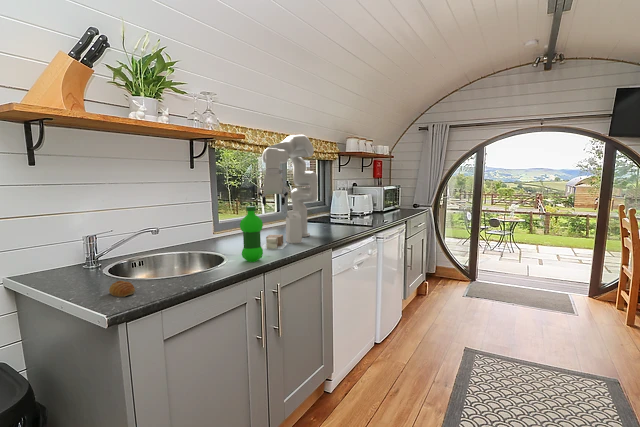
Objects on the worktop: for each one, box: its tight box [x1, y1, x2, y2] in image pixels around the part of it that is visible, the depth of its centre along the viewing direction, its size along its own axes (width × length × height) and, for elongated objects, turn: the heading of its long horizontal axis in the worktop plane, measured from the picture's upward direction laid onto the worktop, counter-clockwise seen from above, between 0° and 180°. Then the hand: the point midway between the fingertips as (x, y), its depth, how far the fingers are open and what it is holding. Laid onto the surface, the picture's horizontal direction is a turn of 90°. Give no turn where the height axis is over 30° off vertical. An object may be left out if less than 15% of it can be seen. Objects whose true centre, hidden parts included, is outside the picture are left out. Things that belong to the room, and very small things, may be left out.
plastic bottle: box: [239, 205, 264, 263], centre depth 156 cm, size 10×10×25 cm
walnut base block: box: [265, 234, 284, 246], centre depth 190 cm, size 8×8×5 cm
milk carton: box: [285, 210, 303, 244], centre depth 197 cm, size 7×7×19 cm
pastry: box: [108, 280, 136, 298], centre depth 113 cm, size 9×7×4 cm
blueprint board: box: [261, 242, 289, 250], centre depth 186 cm, size 16×13×1 cm
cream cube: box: [265, 238, 278, 248], centre depth 182 cm, size 5×5×5 cm
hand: (273, 205), depth 179 cm, fingers open, 9 cm apart
